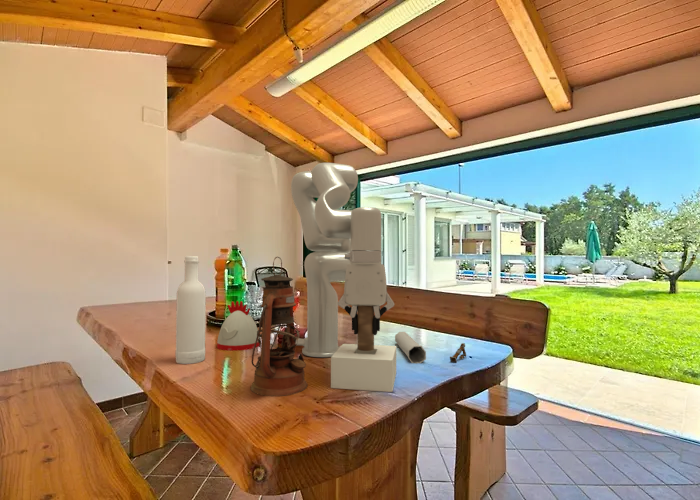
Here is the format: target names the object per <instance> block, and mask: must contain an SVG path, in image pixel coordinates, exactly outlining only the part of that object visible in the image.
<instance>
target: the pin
mask: <svg viewBox="0 0 700 500" xmlns="http://www.w3.org/2000/svg"><path fill="white" fill-rule="evenodd" d="M357 314H358V334H357V344H358V350H361V351H371V350H374V345H375V335H373V318H374V315H375V313H374V307H373V306H358V311H357Z"/></svg>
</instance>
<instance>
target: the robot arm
mask: <svg viewBox="0 0 700 500" xmlns="http://www.w3.org/2000/svg"><path fill="white" fill-rule="evenodd" d="M358 176H359V175H358V172H357V170H356V169H355V167H354V166H352V165H349V164H343V163H335V162H320V163H318V164H316V165H315V166H314V167H313V168H312V170H311V171H300V172H298V173H296V174H294V175H293V176H292V179H291V183H290V191H291V192H290V193H291V198H292V201H293V204H294V206H295V208H296V210H297V213H298V215H299V218H300V223H301V229H302V234H303V239H304V243H305V246H306V248H307V249H308V250H309V251H311V253H309V254H308V255H307V256H306V257H305V260H304V272H305V278H306V290H307V292H306V293H307V294H306V295H307V297H306V298H307V302H306V303H307V305H306V306H307V307H306V308H307V313H306V314H307V325H306V326H307V327H306V330H307V331H306V333H307V335H306V337H304V338H300V337H299V338H298V343H297V342H296V343H295V345H296V344H297V345H296V346H303V347H302V349H301V354H302V355H303V356H307V357H312V358H331V357H332V356H333V354H334V353H335V352H336V351H337V350H338V349H339V348H340V347H341V345H340V346H339V343H338V342H339V340H338V339H339V338H338V337H339V330H338V329H339V317H338V316H339V307H340V308H342V309H343V310H345V312H346V313H347V314H348V315H349V316H350V318H351V331H353V334H354V335H358V306H373V307H374V318H373V335H374V336H376V335H377V334H378V332H380V330H381V327H380V326H381V317H382V316H383V315H384V314H385V313H386V312H387V311H389V310H390V309H392V308H394V307H395V301H394V300H393V299H392V298H391V296H390V294H389V293H388V287H387V286H388V285H387V275H386V269H385V265H384V264H383V263H382V212H381V210H380V209H379V208H377V207H370V206H364V207H363V206H362V207H357V208H353V209H340V208H342V207H343V206H345V205H347V203H348V202H349V200H350V198H351V193H352V192H354V191H355V190H356V188H357V186H358V182H359V177H358ZM315 198H317V200H315ZM332 282H344V287H343V288H344V289H343V294H342V296H341V297H340V299H339V296H338V293H337V291H336V289H335V288H334V286H333V285H332V284H331V283H332ZM386 303H387V304H386ZM381 306H383V307H381ZM296 341H297V340H296Z"/></svg>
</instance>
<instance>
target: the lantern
mask: <svg viewBox="0 0 700 500" xmlns="http://www.w3.org/2000/svg"><path fill="white" fill-rule="evenodd" d="M276 259H279V260H280V262H281V263H280V272H279V273H278V274H276V273H275V260H276ZM272 270H273V275H270V276H266V277H262V278H261V279H260V280H261V281H263V283H264V287H263V288H262V297H261V299H262V303H261V305H260V306H259V307H260V308H262V309H261V310H262V311H261V314H260V317H259V322H258V323H259V325H258V331H257V338H256V342H255V345H254V348H253V349H252V354H251V364H252V366H253V367H255V370H254V377H253V382H252V383H251V384H250V391H251V392H252V393H254V394H257V395H260V396H267V397H283V396H291V395H294V394H298V393H301V392H302V391H305V390H306V389H307V387H308V382H307V381H306V380H305V369H306V367H307V366H306V365H307V364H306V362H305V358H304V356H305V355H304V354H303V353H300V354H299V355H298V357H297V358H295V354H296V347H297V346H298V345H297V344H295V343H296V342H297V343H298V338H300V335H301V334H300V332H301V330H298V328H297V327H296V326H295V320H294V318H295V317H294V307H296V306H297V303H296V302H295V294H294V287H293V286H292V285H290V282H291V281H293V280H294V278H292V277H289V276H288V277H287V276H285V275H282V273H283V261H282V258H281V257H279V256H275V257H274V259H273V262H272ZM272 325H274V326H272ZM281 327H284V330H280V328H281ZM275 328H278V329H275ZM271 333H275V337H274V339H273V342H272V343H271ZM278 335H282V339H281V345H280V346H276V347H275V342H276V340H277V337H278ZM258 338H259V339H258ZM296 340H297V341H296ZM257 341H258V342H259V343H260V344H259V348H260V356H258V357H257V361H256V363H255V364H254V357H255V351H256V348H257V347H256V344H257ZM273 347H275V348H273Z"/></svg>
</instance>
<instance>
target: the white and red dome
mask: <svg viewBox="0 0 700 500" xmlns="http://www.w3.org/2000/svg"><path fill="white" fill-rule="evenodd" d="M227 308H228V311H229V313H230V314H229V315H228V316H227V317H226V318H225V320H224V321H223V323H222V324H221V327H220V329H219V333H218V337H217V342H216V347H217V349H218V350H221V351H228V352H229V351H233V352H234V351H238V352H239V351H246V350H251V349H252V350H253V349H254V345H255V342H256V338H257V331H258V330H259V328H258V326H257V324H256V321H255V320H254V318H253V317H252V316H251V315H250V314H249V313H250V311H251V307H250V308H247V304H244V305H243V301H240V302H239V300H236V302H234V301H231V303H230V304H227ZM246 309H247V311H246ZM258 339H259V338H258ZM259 344H260V343H259V342H258V341H257V344H256V348H258V347H259ZM259 348H260V347H259Z"/></svg>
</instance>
